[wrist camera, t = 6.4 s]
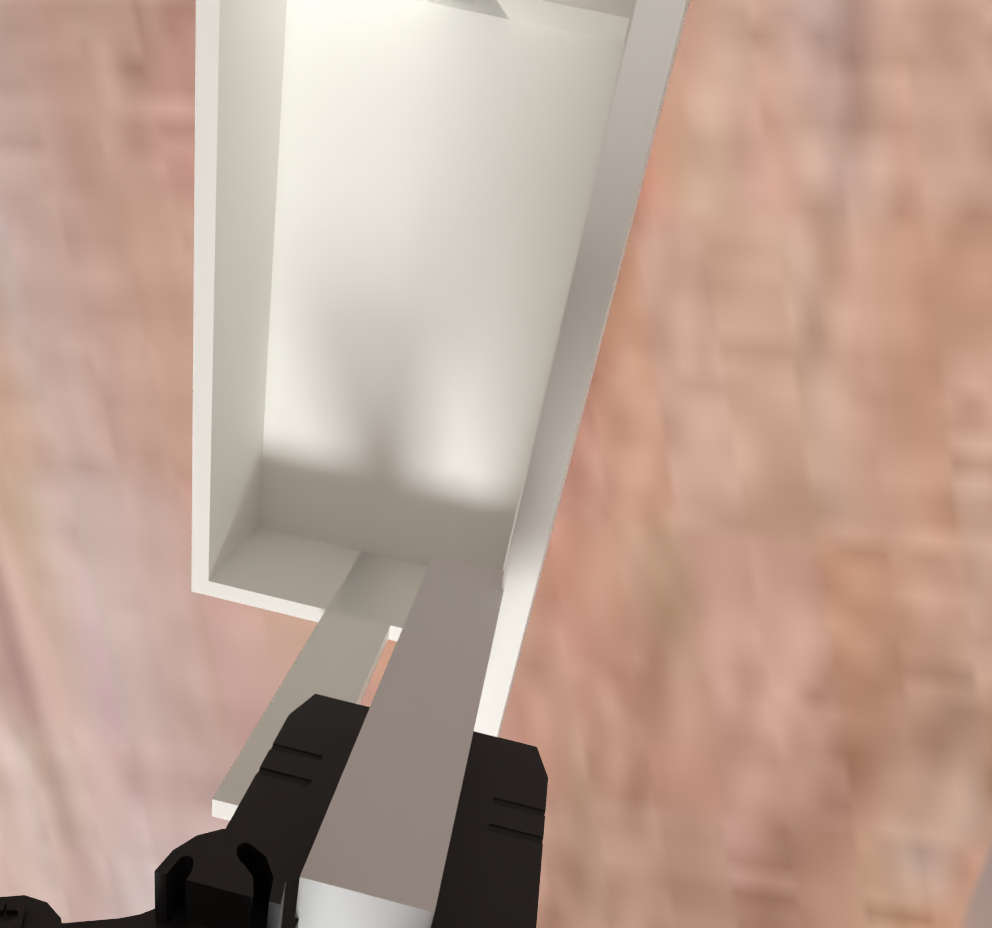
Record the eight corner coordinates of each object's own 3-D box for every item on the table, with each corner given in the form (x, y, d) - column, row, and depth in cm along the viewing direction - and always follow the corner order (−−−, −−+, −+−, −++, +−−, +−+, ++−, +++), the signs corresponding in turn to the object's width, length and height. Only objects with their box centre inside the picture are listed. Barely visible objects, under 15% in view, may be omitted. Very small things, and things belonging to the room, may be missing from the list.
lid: (698, -307, 8) (763, -298, 8) (667, -9, 21) (691, -5, 21) (393, 1029, 18) (418, 1039, 18) (500, 670, 32) (514, 675, 31)
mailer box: (277, -50, 27) (-111, -295, 12) (650, 25, 26) (714, -137, 12) (249, 528, 38) (26, 768, 23) (513, 591, 37) (456, 879, 22)
